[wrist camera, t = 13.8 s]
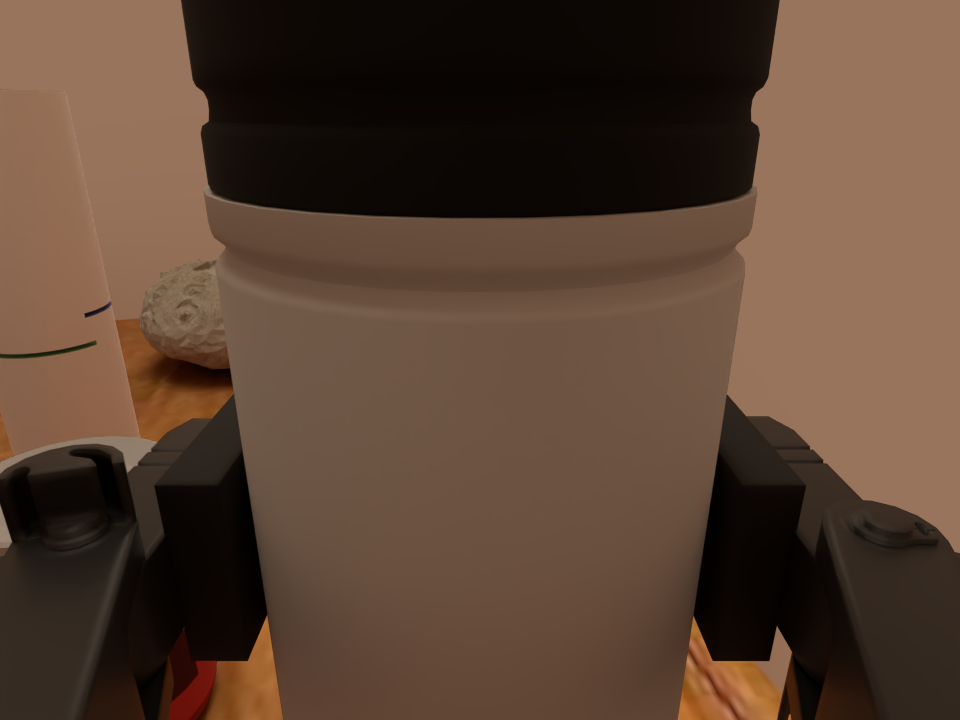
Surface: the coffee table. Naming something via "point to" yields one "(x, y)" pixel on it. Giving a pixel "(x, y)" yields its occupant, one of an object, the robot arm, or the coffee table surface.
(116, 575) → the robot arm
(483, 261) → the travel mug
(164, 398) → the coffee table surface
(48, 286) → the cylindrical container
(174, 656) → the canned food
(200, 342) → the decorative shell
